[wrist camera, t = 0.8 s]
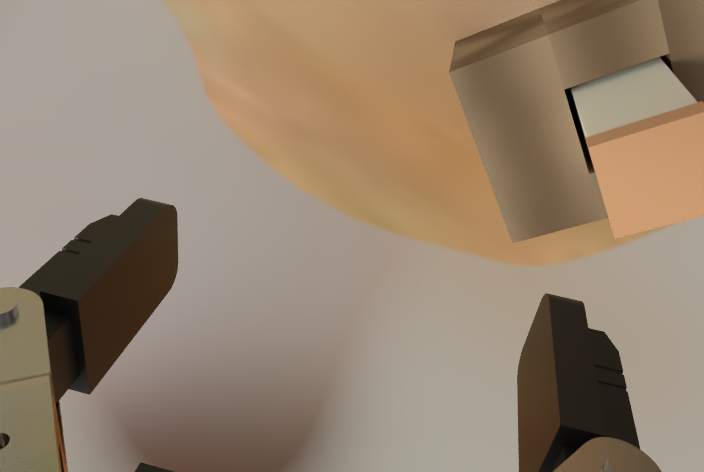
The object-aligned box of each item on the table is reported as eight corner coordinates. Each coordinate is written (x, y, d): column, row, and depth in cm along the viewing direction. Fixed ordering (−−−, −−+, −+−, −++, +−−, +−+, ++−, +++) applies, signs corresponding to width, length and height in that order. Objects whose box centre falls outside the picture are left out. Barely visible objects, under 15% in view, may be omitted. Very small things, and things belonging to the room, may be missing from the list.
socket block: (937, -149, 28) (1041, -151, 22) (944, 65, 32) (1033, 105, 26) (455, 41, 35) (449, 73, 30) (510, 193, 39) (512, 244, 34)
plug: (640, 30, 33) (710, 110, 22) (657, 103, 35) (729, 209, 24) (558, 59, 35) (588, 147, 24) (579, 128, 36) (614, 238, 26)
